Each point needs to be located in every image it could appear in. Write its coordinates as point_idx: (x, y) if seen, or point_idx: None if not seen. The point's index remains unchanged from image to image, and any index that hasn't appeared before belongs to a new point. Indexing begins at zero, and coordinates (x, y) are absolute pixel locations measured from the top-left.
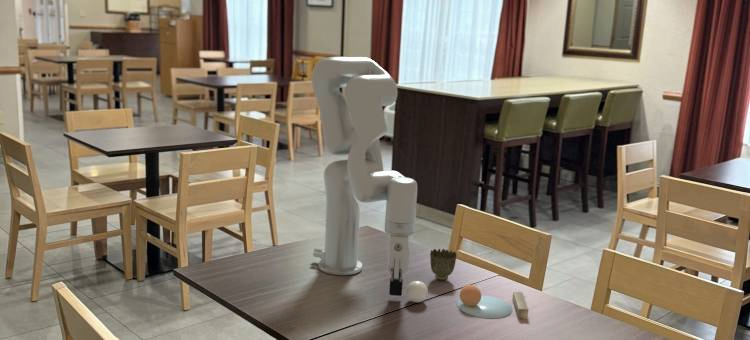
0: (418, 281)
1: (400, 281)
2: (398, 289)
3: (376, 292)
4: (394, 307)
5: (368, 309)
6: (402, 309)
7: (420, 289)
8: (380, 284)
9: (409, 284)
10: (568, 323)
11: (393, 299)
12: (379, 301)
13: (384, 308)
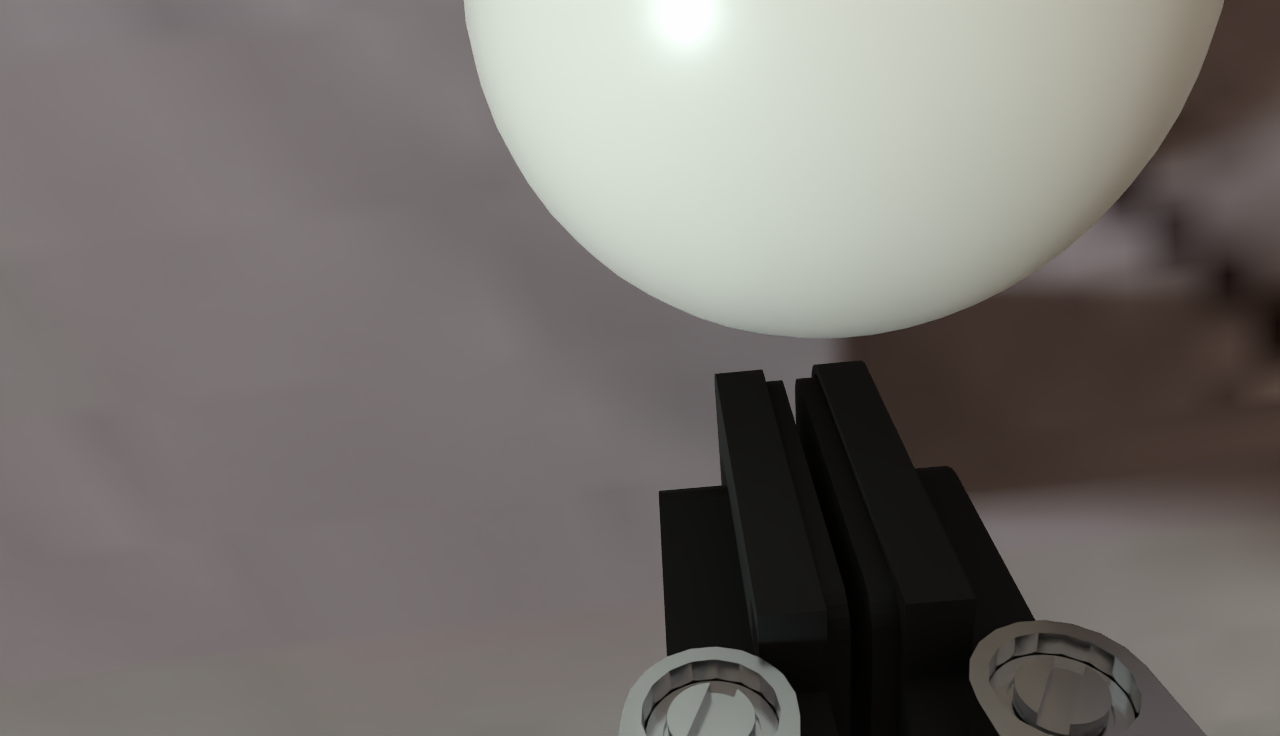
0: (894, 9)
1: (1106, 670)
2: (974, 520)
3: (539, 714)
4: (1151, 373)
5: (1248, 712)
6: (1248, 214)
7: None
8: (165, 712)
9: (873, 321)
10: None
11: None
12: None
13: (1204, 520)
